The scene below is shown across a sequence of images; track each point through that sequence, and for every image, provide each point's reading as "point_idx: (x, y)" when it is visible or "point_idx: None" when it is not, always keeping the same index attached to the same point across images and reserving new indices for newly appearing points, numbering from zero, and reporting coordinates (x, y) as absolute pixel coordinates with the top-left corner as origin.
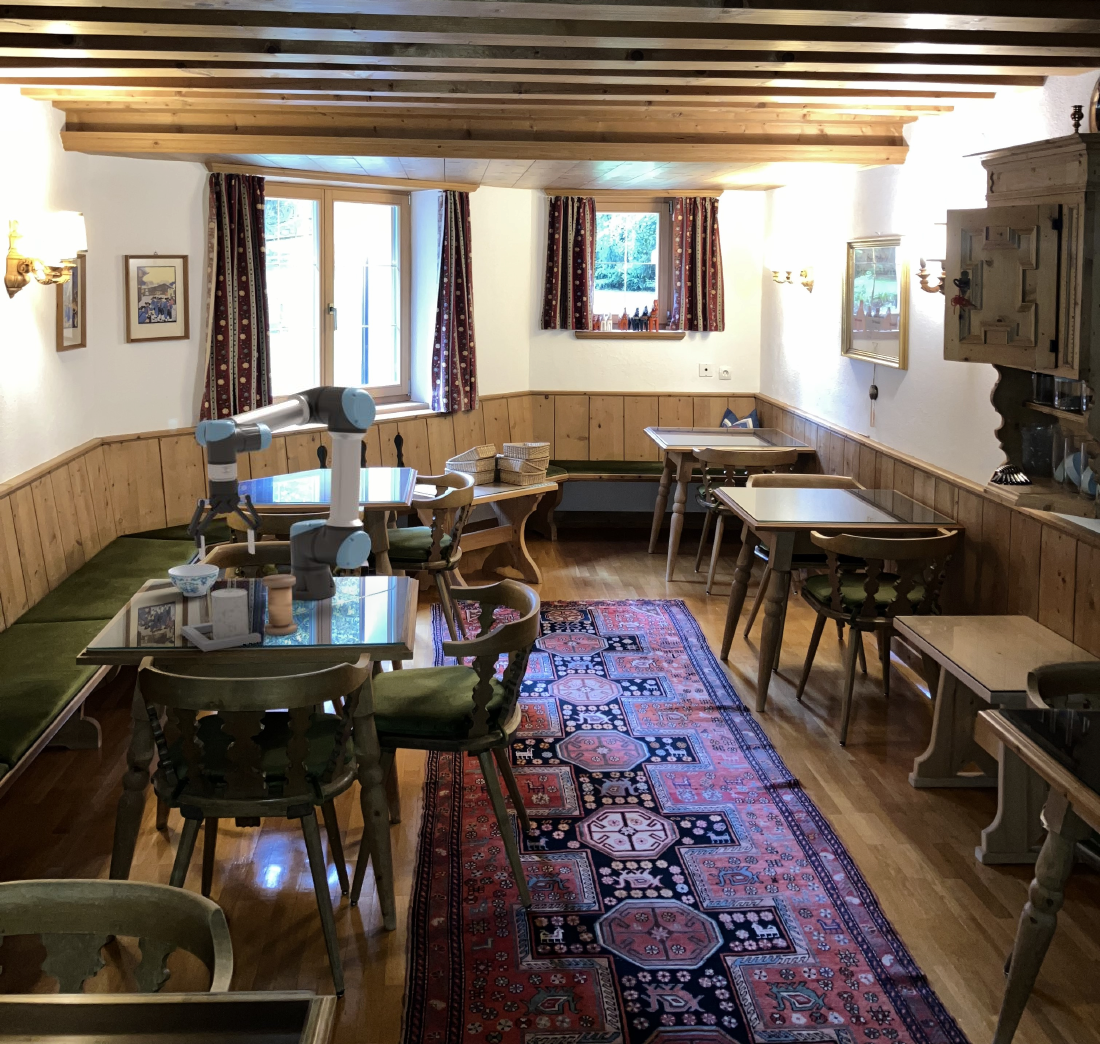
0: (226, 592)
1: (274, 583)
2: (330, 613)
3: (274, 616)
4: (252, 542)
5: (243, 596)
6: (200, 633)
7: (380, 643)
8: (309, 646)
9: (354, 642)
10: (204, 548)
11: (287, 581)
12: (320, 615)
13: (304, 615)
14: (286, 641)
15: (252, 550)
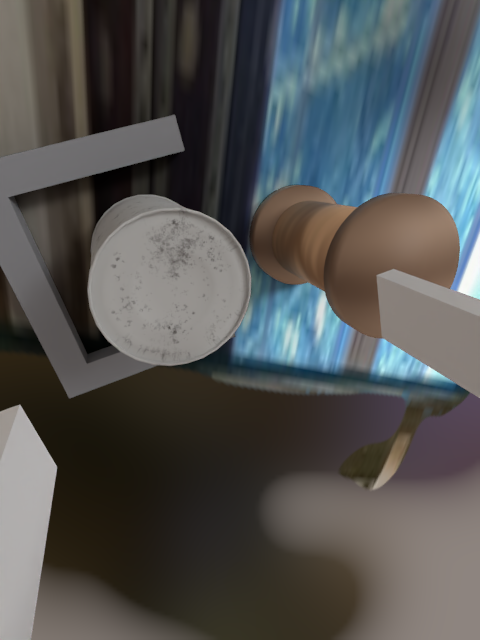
0: (163, 268)
1: (365, 334)
2: (453, 89)
3: (297, 276)
4: (449, 373)
5: (228, 331)
6: (48, 283)
7: (446, 383)
8: (326, 382)
9: (411, 369)
10: (40, 553)
11: None
12: (424, 101)
13: (388, 79)
14: (288, 335)
15: (401, 346)
